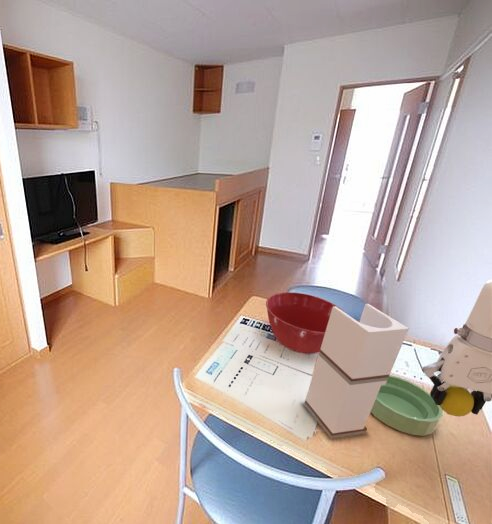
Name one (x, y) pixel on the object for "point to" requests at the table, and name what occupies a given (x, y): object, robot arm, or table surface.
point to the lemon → (457, 401)
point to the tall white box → (352, 369)
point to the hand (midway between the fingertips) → (453, 404)
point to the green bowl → (406, 407)
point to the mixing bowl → (299, 320)
